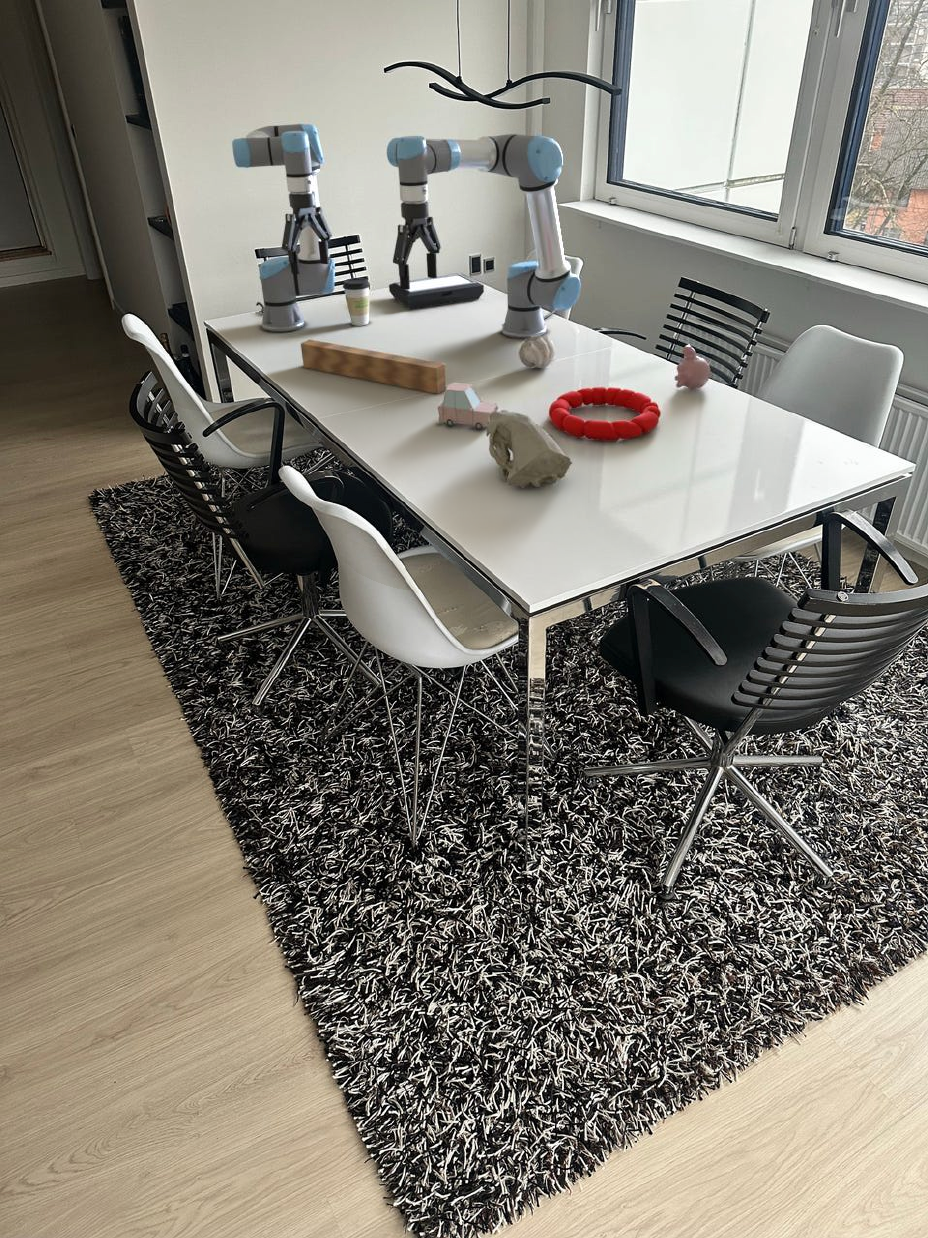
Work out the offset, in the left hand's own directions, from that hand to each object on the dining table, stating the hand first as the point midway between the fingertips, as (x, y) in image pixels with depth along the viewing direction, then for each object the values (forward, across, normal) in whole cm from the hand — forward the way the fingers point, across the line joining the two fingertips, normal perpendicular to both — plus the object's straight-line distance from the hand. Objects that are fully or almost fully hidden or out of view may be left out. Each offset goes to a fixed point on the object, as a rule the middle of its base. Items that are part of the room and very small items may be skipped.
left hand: (310, 268), depth 270 cm
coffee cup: (+31, +45, +19) cm, 58 cm away
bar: (+31, 0, -20) cm, 37 cm away
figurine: (+31, +36, -110) cm, 120 cm away
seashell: (+31, +32, -62) cm, 76 cm away
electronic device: (+31, +84, +11) cm, 91 cm away
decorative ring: (+31, +1, -98) cm, 103 cm away
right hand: (0, 0, -40) cm, 40 cm away
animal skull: (+31, -37, -93) cm, 105 cm away
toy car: (+31, -18, -66) cm, 75 cm away
